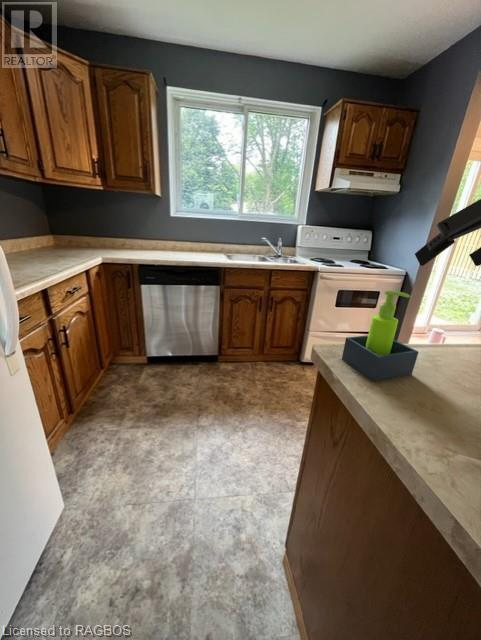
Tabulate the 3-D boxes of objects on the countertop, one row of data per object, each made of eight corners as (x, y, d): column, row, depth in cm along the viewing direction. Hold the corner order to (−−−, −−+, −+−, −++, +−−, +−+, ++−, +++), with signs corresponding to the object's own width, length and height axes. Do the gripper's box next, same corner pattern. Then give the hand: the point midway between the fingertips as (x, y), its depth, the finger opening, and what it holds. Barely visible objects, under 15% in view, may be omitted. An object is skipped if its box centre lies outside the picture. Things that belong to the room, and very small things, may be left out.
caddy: (377, 354, 80) (382, 333, 77) (411, 374, 69) (418, 351, 67) (341, 359, 76) (345, 337, 73) (372, 381, 65) (378, 357, 63)
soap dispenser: (392, 372, 68) (413, 296, 62) (362, 367, 71) (379, 292, 64) (388, 362, 74) (407, 290, 67) (361, 357, 76) (377, 287, 69)
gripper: (546, 166, 29) (401, 276, 48) (678, 184, 35) (504, 276, 54) (509, 123, 32) (386, 242, 51) (636, 147, 38) (485, 246, 57)
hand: (447, 260), depth 52 cm, fingers open, 13 cm apart
